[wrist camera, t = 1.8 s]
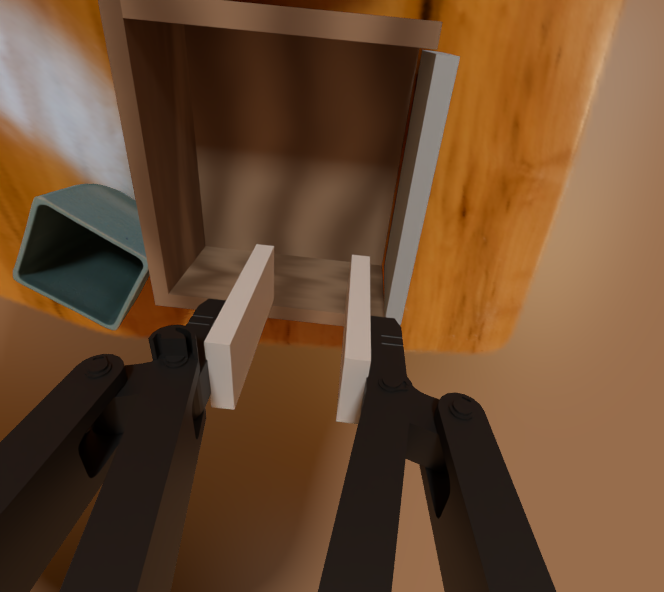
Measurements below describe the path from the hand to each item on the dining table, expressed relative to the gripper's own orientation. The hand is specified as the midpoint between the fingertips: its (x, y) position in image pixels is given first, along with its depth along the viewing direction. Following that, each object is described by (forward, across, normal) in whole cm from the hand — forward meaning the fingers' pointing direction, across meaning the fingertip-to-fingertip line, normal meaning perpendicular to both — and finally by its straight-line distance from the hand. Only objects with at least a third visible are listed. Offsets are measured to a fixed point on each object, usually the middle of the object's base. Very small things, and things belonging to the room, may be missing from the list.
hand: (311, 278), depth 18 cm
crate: (+20, -4, 0) cm, 20 cm away
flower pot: (+20, -19, -8) cm, 29 cm away
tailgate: (+18, +5, 0) cm, 19 cm away
